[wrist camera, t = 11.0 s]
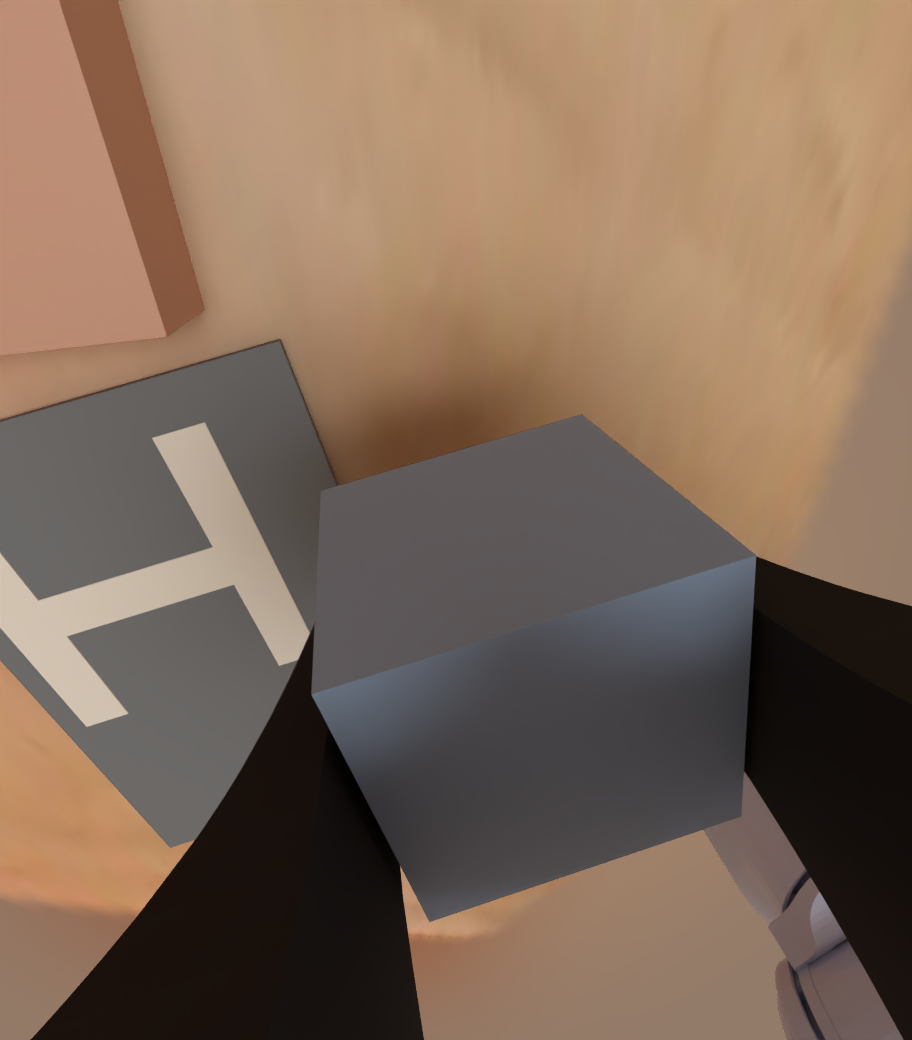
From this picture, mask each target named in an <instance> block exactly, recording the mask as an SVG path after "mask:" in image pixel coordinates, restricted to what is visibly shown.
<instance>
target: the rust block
mask: <svg viewBox="0 0 912 1040" xmlns="http://www.w3.org/2000/svg"><path fill="white" fill-rule="evenodd" d="M203 310H205V309H204V306H203V302H202V298H201V295H200V291H199V288H198V284H197V281H196V277H195V274H194V270H193V267H192V263H191V260H190V256H189V252H188V249H187V245H186V242H185V238H184V235H183V231H182V228H181V224H180V221H179V217H178V213H177V210H176V206H175V203H174V199H173V196H172V192H171V189H170V185H169V182H168V178H167V174H166V171H165V167H164V164H163V160H162V157H161V153H160V150H159V146H158V143H157V139H156V136H155V132H154V128H153V125H152V121H151V118H150V114H149V111H148V107H147V104H146V100H145V97H144V93H143V89H142V86H141V82H140V79H139V75H138V72H137V68H136V65H135V61H134V58H133V54H132V50H131V47H130V43H129V40H128V36H127V33H126V29H125V26H124V22H123V19H122V15H121V11H120V8H119V4H118V1H117V0H0V356H1V355H10V354H19V353H28V352H37V351H45V350H54V349H63V348H72V347H81V346H90V345H99V344H108V343H117V342H126V341H134V340H143V339H152V338H161V337H167V336H169V335H170V334H172V333H173V332H174V331H176V330H177V329H178V328H180V327H181V326H183V325H184V324H185V323H187V322H188V321H189V320H191V319H192V318H194V317H195V316H196V315H198V314H199V313H200V312H202V311H203Z"/></svg>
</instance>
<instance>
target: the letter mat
mask: <svg viewBox="0 0 912 1040" xmlns="http://www.w3.org/2000/svg"><path fill="white" fill-rule="evenodd" d="M336 486H338V485H337V482H336V479H335V477H334V474H333V472H332V469H331V467H330V464H329V462H328V459H327V457H326V454H325V451H324V449H323V446H322V444H321V441H320V439H319V436H318V434H317V431H316V429H315V426H314V423H313V421H312V418H311V416H310V413H309V411H308V408H307V406H306V403H305V401H304V398H303V396H302V393H301V390H300V388H299V385H298V383H297V380H296V378H295V375H294V373H293V370H292V368H291V365H290V362H289V360H288V357H287V355H286V352H285V350H284V347H283V345H282V342H281V340H280V339H278V340H275V341H272V342H268V343H265V344H261V345H258V346H254V347H251V348H247V349H244V350H241V351H237V352H234V353H230V354H227V355H223V356H220V357H216V358H213V359H210V360H206V361H203V362H199V363H196V364H192V365H189V366H185V367H182V368H178V369H175V370H172V371H168V372H165V373H161V374H158V375H154V376H151V377H147V378H144V379H141V380H137V381H134V382H130V383H127V384H123V385H120V386H116V387H113V388H109V389H106V390H103V391H99V392H96V393H92V394H89V395H85V396H82V397H78V398H75V399H72V400H68V401H65V402H61V403H58V404H54V405H51V406H47V407H44V408H40V409H37V410H34V411H30V412H27V413H23V414H20V415H16V416H13V417H9V418H6V419H3V420H0V660H1V661H2V663H3V664H4V665H5V666H6V667H7V668H8V669H9V670H10V671H11V673H12V674H13V675H14V676H15V677H16V678H17V679H18V680H19V681H20V682H21V684H22V685H23V686H24V687H25V688H26V689H27V690H28V691H29V692H30V693H31V695H32V696H33V697H34V698H35V699H36V700H37V701H38V702H39V703H40V705H41V706H42V707H43V708H44V709H45V710H46V711H47V712H48V713H49V714H50V716H51V717H52V718H53V719H54V720H55V721H56V722H57V723H58V724H59V725H60V727H61V728H62V729H63V730H64V731H65V732H66V733H67V734H68V735H69V737H70V738H71V739H72V740H73V741H74V742H75V743H76V744H77V745H78V746H79V748H80V749H81V750H82V751H83V752H84V753H85V754H86V755H87V756H88V757H89V759H90V760H91V761H92V762H93V763H94V764H95V765H96V766H97V767H98V769H99V770H100V771H101V772H102V773H103V774H104V775H105V776H106V777H107V778H108V780H109V781H110V782H111V783H112V784H113V785H114V786H115V787H116V788H117V789H118V791H119V792H120V793H121V794H122V795H123V796H124V797H125V798H126V799H127V800H128V802H129V803H130V804H131V805H132V806H133V807H134V808H135V809H136V810H137V812H138V813H139V814H140V815H141V816H142V817H143V818H144V819H145V820H146V821H147V823H148V824H149V825H150V826H151V827H152V828H153V829H154V830H155V831H156V832H157V834H158V835H159V836H160V837H161V838H162V839H163V840H164V841H165V842H166V844H167V845H168V846H169V847H170V848H171V847H174V846H177V845H180V844H183V843H186V842H189V841H192V840H195V839H196V838H197V837H198V835H199V834H200V832H201V831H202V829H203V828H204V826H205V825H206V823H207V822H208V820H209V819H210V817H211V816H212V814H213V813H214V811H215V810H216V808H217V807H218V805H219V804H220V802H221V801H222V799H223V798H224V796H225V794H226V793H227V791H228V790H229V788H230V786H231V785H232V783H233V782H234V780H235V778H236V777H237V775H238V773H239V772H240V770H241V768H242V767H243V765H244V763H245V761H246V760H247V758H248V756H249V754H250V752H251V751H252V749H253V747H254V745H255V744H256V742H257V740H258V738H259V736H260V735H261V733H262V731H263V729H264V727H265V726H266V724H267V722H268V720H269V718H270V716H271V714H272V712H273V710H274V708H275V706H276V704H277V702H278V700H279V698H280V696H281V694H282V692H283V690H284V688H285V686H286V684H287V682H288V680H289V678H290V676H291V674H292V672H293V669H294V667H295V665H296V663H297V661H298V659H299V656H300V654H301V652H302V650H303V647H304V645H305V643H306V641H307V638H308V636H309V634H310V632H311V630H312V627H313V625H314V623H315V606H316V584H317V563H318V541H319V520H320V498H321V491H322V490H325V489H329V488H332V487H336Z"/></svg>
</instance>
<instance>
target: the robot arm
mask: <svg viewBox="0 0 912 1040" xmlns="http://www.w3.org/2000/svg"><path fill="white" fill-rule="evenodd" d="M314 627H315V623H314V625H313V627H312V630H311V632H310V634H309V636H308V638H307V641H306V643H305V645H304V647H303V650H302V652H301V654H300V656H299V659H298V661H297V663H296V665H295V667H294V669H293V672H292V674H291V676H290V678H289V680H288V682H287V684H286V686H285V688H284V690H283V692H282V694H281V696H280V698H279V700H278V702H277V704H276V706H275V708H274V710H273V712H272V714H271V716H270V718H269V720H268V722H267V724H266V726H265V727H264V729H263V731H262V733H261V735H260V736H259V738H258V740H257V742H256V744H255V745H254V747H253V749H252V751H251V752H250V754H249V756H248V758H247V760H246V761H245V763H244V765H243V767H242V768H241V770H240V772H239V773H238V775H237V777H236V778H235V780H234V782H233V783H232V785H231V786H230V788H229V790H228V791H227V793H226V794H225V796H224V798H223V799H222V801H221V802H220V804H219V805H218V807H217V808H216V810H215V811H214V813H213V814H212V816H211V817H210V819H209V820H208V822H207V823H206V825H205V826H204V828H203V829H202V831H201V832H200V834H199V835H198V837H197V838H196V839H195V841H194V842H193V844H192V845H191V846H190V848H189V849H188V850H187V852H186V853H185V854H184V856H183V857H182V858H181V860H180V861H179V862H178V863H177V865H176V866H175V867H174V869H173V870H172V871H171V873H170V874H169V875H168V877H167V878H166V879H165V881H164V882H163V883H162V885H161V886H160V887H159V889H158V890H157V891H156V893H155V894H154V895H153V896H152V898H151V899H150V900H149V902H148V903H147V904H146V906H145V907H144V908H143V910H142V911H141V912H140V913H139V915H138V916H137V917H136V918H135V920H134V921H133V922H132V923H131V925H130V926H129V927H128V928H127V929H126V931H125V932H124V933H123V934H122V936H121V937H120V938H119V939H118V940H117V942H116V943H115V944H114V945H113V946H112V948H111V949H110V950H109V951H108V952H107V954H106V955H105V956H104V957H103V958H102V960H101V961H100V962H99V963H98V964H97V965H96V967H95V968H94V969H93V970H92V971H91V972H90V974H89V975H88V976H87V977H86V978H85V979H84V980H83V982H82V983H81V984H80V985H79V986H78V987H77V989H76V990H75V991H74V992H73V993H72V994H71V996H70V997H69V998H68V999H67V1000H66V1001H65V1003H63V1005H62V1006H61V1007H60V1008H59V1009H58V1010H57V1011H56V1013H55V1014H54V1015H53V1016H52V1017H51V1018H50V1019H49V1020H48V1021H47V1022H46V1024H45V1025H44V1026H43V1027H42V1028H41V1029H40V1030H39V1031H38V1032H37V1034H36V1035H35V1036H34V1037H33V1038H32V1039H31V1040H424V1038H423V1031H422V1024H421V1018H420V1011H419V1004H418V998H417V991H416V985H415V979H414V973H413V966H412V958H411V951H410V944H409V937H408V930H407V923H406V916H405V909H404V902H403V894H402V882H401V871H400V864H399V862H398V860H397V858H396V856H395V854H394V852H393V851H392V849H391V847H390V845H389V843H388V841H387V839H386V837H385V835H384V833H383V831H382V829H381V827H380V826H379V824H378V822H377V820H376V818H375V816H374V814H373V812H372V810H371V808H370V806H369V804H368V802H367V800H366V799H365V797H364V795H363V793H362V791H361V789H360V787H359V785H358V783H357V781H356V779H355V777H354V775H353V774H352V772H351V770H350V768H349V766H348V764H347V762H346V760H345V758H344V756H343V754H342V752H341V750H340V749H339V747H338V745H337V743H336V741H335V739H334V737H333V735H332V733H331V731H330V729H329V727H328V725H327V724H326V722H325V720H324V718H323V716H322V714H321V712H320V710H319V708H318V706H317V704H316V702H315V700H314V699H313V697H312V695H311V691H312V670H313V648H314ZM703 830H704V831H705V833H706V835H707V836H708V838H709V840H710V841H711V843H712V845H713V846H714V848H715V850H716V852H717V853H718V855H719V857H720V858H721V860H722V861H723V863H724V865H725V866H726V868H727V870H728V872H729V873H730V875H731V876H732V878H733V880H734V882H735V883H736V885H737V886H738V888H739V890H740V891H741V893H742V894H743V895H744V897H745V898H746V900H747V901H748V902H749V904H750V905H751V906H752V907H753V908H754V909H755V910H756V911H757V913H758V914H760V915H761V916H762V917H763V918H764V919H765V920H766V921H767V922H769V923H770V924H769V926H768V928H769V930H770V931H771V933H772V934H773V936H774V938H775V939H776V941H777V943H778V944H779V946H780V948H781V949H782V951H783V953H784V954H785V956H786V958H785V959H783V960H782V961H780V962H779V963H778V965H777V967H776V970H775V981H776V989H777V997H778V998H777V999H778V1000H777V1001H778V1002H777V1003H778V1011H779V1016H780V1019H781V1023H782V1026H783V1029H784V1032H785V1035H786V1038H787V1040H912V606H909V605H905V604H902V603H898V602H894V601H891V600H887V599H883V598H879V597H876V596H872V595H869V594H865V593H861V592H858V591H854V590H851V589H848V588H845V587H842V586H838V585H835V584H832V583H829V582H826V581H823V580H820V579H817V578H815V577H811V576H809V575H806V574H803V573H800V572H797V571H794V570H791V569H788V568H786V567H783V566H780V565H777V564H775V563H772V562H769V561H767V560H764V559H762V558H759V557H756V569H755V586H754V604H753V621H752V639H751V657H750V674H749V692H748V709H747V727H746V744H745V762H744V779H743V797H742V815H741V817H738V818H736V819H733V820H730V821H727V822H724V823H721V824H718V825H715V826H712V827H709V828H706V829H703Z"/></svg>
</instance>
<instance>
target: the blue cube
mask: <svg viewBox="0 0 912 1040" xmlns="http://www.w3.org/2000/svg"><path fill="white" fill-rule="evenodd" d="M755 569H756V555H755V554H754V553H753V552H751V551H750V550H749V549H748V548H747V547H745V546H744V545H743V544H742V543H740V542H739V541H738V540H737V539H735V538H734V537H733V536H732V535H730V534H729V533H728V532H727V531H725V530H724V529H723V528H722V527H721V526H719V525H718V524H717V523H716V522H714V521H713V520H712V519H711V518H709V517H708V516H707V515H706V514H704V513H703V512H702V511H701V510H699V509H698V508H697V507H696V506H695V505H693V504H692V503H691V502H690V501H688V500H687V499H686V498H685V497H683V496H682V495H681V494H680V493H678V492H677V491H676V490H675V489H673V488H672V487H671V486H670V485H669V484H667V483H666V482H665V481H664V480H662V479H661V478H660V477H659V476H657V475H656V474H655V473H654V472H652V471H651V470H650V469H649V468H647V467H646V466H645V465H644V464H643V463H641V462H640V461H639V460H638V459H636V458H635V457H634V456H633V455H631V454H630V453H629V452H628V451H626V450H625V449H624V448H623V447H621V446H620V445H619V444H618V443H617V442H615V441H614V440H613V439H612V438H610V437H609V436H608V435H607V434H605V433H604V432H603V431H602V430H600V429H599V428H598V427H597V426H595V425H594V424H593V423H592V422H591V421H589V420H588V419H587V418H586V417H584V416H583V415H582V414H581V415H578V416H574V417H571V418H567V419H564V420H561V421H557V422H554V423H550V424H547V425H544V426H540V427H537V428H533V429H530V430H527V431H523V432H520V433H516V434H513V435H509V436H506V437H503V438H499V439H496V440H492V441H489V442H486V443H482V444H479V445H475V446H472V447H469V448H465V449H462V450H458V451H455V452H452V453H448V454H445V455H441V456H438V457H435V458H431V459H428V460H424V461H421V462H417V463H414V464H411V465H407V466H404V467H400V468H397V469H394V470H390V471H387V472H383V473H380V474H377V475H373V476H370V477H366V478H363V479H360V480H356V481H353V482H349V483H346V484H342V485H339V486H336V487H332V488H329V489H325V490H322V491H321V498H320V520H319V541H318V563H317V584H316V606H315V627H314V648H313V670H312V691H311V695H312V697H313V699H314V700H315V702H316V704H317V706H318V708H319V710H320V712H321V714H322V716H323V718H324V720H325V722H326V724H327V725H328V727H329V729H330V731H331V733H332V735H333V737H334V739H335V741H336V743H337V745H338V747H339V749H340V750H341V752H342V754H343V756H344V758H345V760H346V762H347V764H348V766H349V768H350V770H351V772H352V774H353V775H354V777H355V779H356V781H357V783H358V785H359V787H360V789H361V791H362V793H363V795H364V797H365V799H366V800H367V802H368V804H369V806H370V808H371V810H372V812H373V814H374V816H375V818H376V820H377V822H378V824H379V826H380V827H381V829H382V831H383V833H384V835H385V837H386V839H387V841H388V843H389V845H390V847H391V849H392V851H393V852H394V854H395V856H396V858H397V860H398V862H399V864H400V866H401V868H402V870H403V872H404V874H405V876H406V877H407V879H408V881H409V883H410V885H411V887H412V889H413V891H414V893H415V895H416V897H417V899H418V901H419V902H420V904H421V906H422V908H423V910H424V912H425V914H426V916H427V918H428V920H429V922H431V921H434V920H437V919H440V918H443V917H446V916H449V915H451V914H454V913H457V912H460V911H463V910H466V909H469V908H472V907H475V906H478V905H481V904H484V903H487V902H490V901H493V900H496V899H499V898H502V897H505V896H508V895H511V894H514V893H517V892H520V891H522V890H525V889H528V888H531V887H534V886H537V885H540V884H543V883H546V882H549V881H552V880H555V879H558V878H561V877H564V876H567V875H570V874H573V873H576V872H579V871H582V870H585V869H588V868H591V867H594V866H596V865H599V864H602V863H605V862H608V861H611V860H614V859H617V858H620V857H623V856H626V855H629V854H632V853H635V852H638V851H641V850H644V849H647V848H650V847H653V846H655V845H659V844H662V843H665V842H667V841H670V840H673V839H676V838H679V837H682V836H685V835H688V834H691V833H694V832H697V831H700V830H703V829H706V828H709V827H712V826H715V825H718V824H721V823H724V822H727V821H730V820H733V819H736V818H738V817H741V815H742V797H743V779H744V762H745V744H746V727H747V709H748V692H749V674H750V657H751V639H752V621H753V604H754V586H755Z"/></svg>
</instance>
